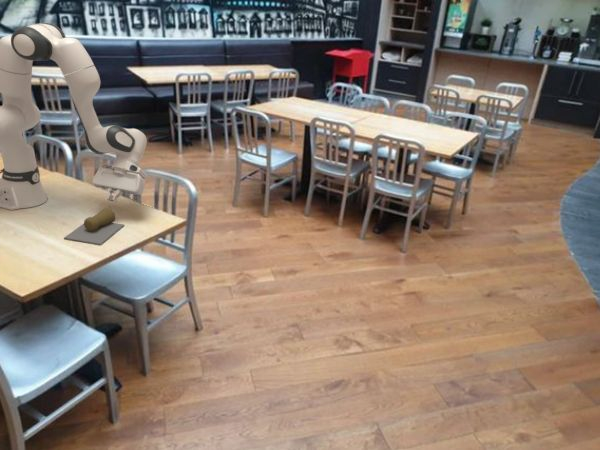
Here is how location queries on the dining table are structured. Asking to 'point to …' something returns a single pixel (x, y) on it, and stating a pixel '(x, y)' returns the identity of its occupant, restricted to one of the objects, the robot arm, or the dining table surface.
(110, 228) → the rubber mat
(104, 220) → the cork
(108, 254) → the dining table surface
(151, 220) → the dining table surface
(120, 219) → the dining table surface
